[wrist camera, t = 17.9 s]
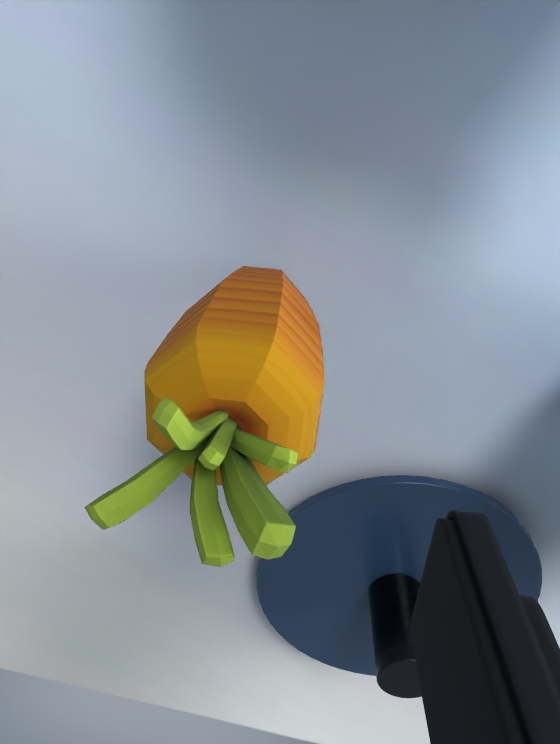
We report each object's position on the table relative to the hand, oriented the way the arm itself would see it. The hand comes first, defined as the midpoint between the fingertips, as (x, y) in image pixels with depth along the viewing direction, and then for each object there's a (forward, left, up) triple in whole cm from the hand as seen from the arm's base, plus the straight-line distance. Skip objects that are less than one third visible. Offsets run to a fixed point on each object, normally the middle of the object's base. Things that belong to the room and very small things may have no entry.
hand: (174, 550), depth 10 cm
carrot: (0, 0, -15) cm, 15 cm away
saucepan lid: (-8, +17, -15) cm, 24 cm away
